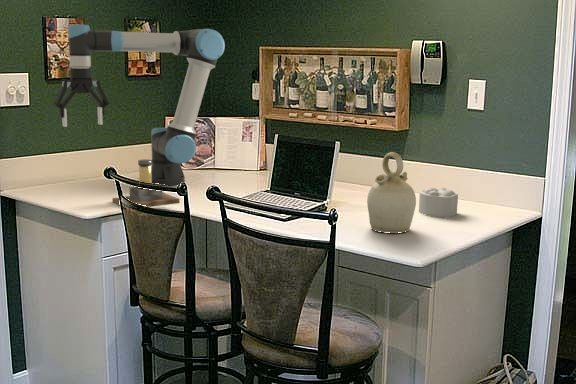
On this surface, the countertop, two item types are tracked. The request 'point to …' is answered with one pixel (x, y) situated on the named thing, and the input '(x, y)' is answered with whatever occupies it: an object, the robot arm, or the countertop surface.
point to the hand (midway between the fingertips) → (82, 125)
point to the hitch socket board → (149, 197)
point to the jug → (391, 199)
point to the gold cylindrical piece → (145, 171)
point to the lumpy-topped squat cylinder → (438, 202)
